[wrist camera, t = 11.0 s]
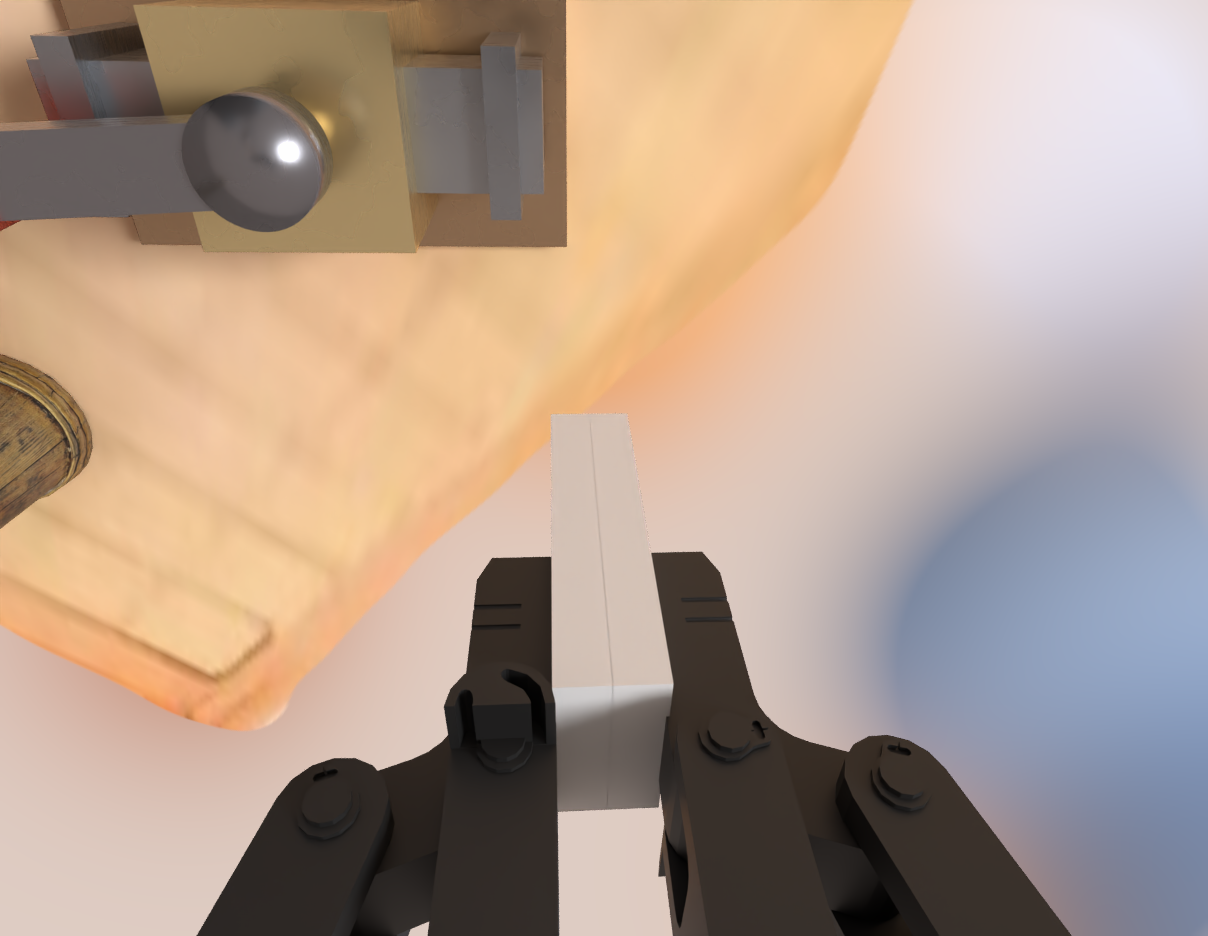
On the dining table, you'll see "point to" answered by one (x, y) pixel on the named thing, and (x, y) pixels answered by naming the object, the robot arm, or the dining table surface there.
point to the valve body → (347, 109)
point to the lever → (171, 164)
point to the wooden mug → (37, 437)
